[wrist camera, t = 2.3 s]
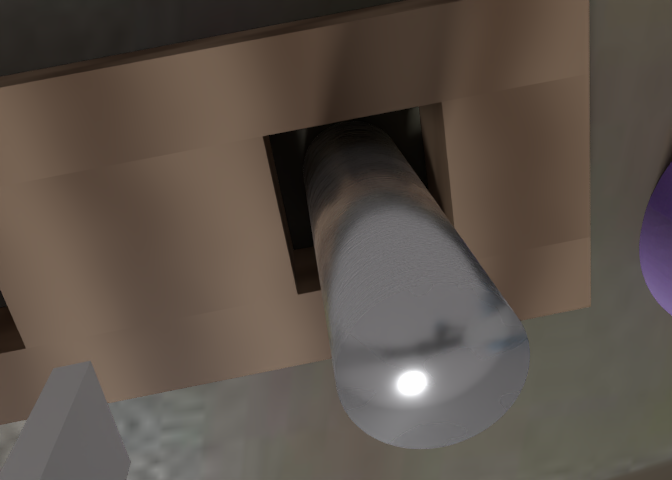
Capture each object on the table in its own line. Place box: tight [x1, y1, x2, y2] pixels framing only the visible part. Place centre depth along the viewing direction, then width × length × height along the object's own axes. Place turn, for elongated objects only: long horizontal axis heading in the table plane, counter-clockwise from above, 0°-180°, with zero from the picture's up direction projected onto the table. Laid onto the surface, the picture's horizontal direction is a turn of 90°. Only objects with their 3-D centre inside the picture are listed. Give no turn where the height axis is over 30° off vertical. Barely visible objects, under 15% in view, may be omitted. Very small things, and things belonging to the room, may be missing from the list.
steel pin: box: [303, 121, 530, 449], centre depth 19 cm, size 4×4×14 cm
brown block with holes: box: [0, 0, 591, 425], centre depth 24 cm, size 32×12×4 cm, turn 99°
